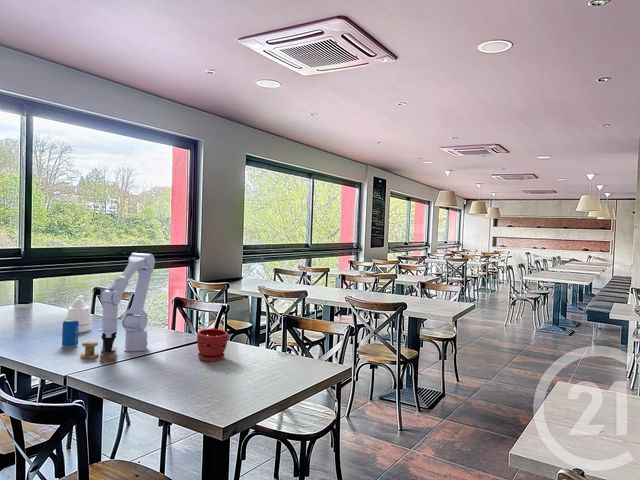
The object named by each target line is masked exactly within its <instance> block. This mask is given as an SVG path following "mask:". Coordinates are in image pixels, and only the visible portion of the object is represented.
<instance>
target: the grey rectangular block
mask: <svg viewBox="0 0 640 480" xmlns="http://www.w3.org/2000/svg"><path fill="white" fill-rule="evenodd" d="M102 347H103V350H102V354H111V353H112V350H111V352H105V346H104V342H103V341H102Z"/></svg>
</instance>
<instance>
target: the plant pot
mask: <svg viewBox="0 0 640 480" xmlns="http://www.w3.org/2000/svg"><path fill="white" fill-rule="evenodd" d="M196 336H197V337H196V341H197V342H196V344H197V349H198V353H197V358H198V359H200V360H202V361H205V362H217V361H220V360H223V359H224V358H225V354H226V353H224V352H225V351H226V347H227V345H228V340H229V339H228V338H229V333H228V332H227V331H226V330H224V329H217V328H205V329H201V330H198V332H197V335H196Z"/></svg>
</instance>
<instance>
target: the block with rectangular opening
mask: <svg viewBox="0 0 640 480" xmlns="http://www.w3.org/2000/svg"><path fill="white" fill-rule="evenodd" d="M117 349H118V347H117V346H112V353H111V354H102V350H103V346H102V347H101V349H100V354H99V363H109V362H111V363H113V362H117V361H116V360H117Z"/></svg>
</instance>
